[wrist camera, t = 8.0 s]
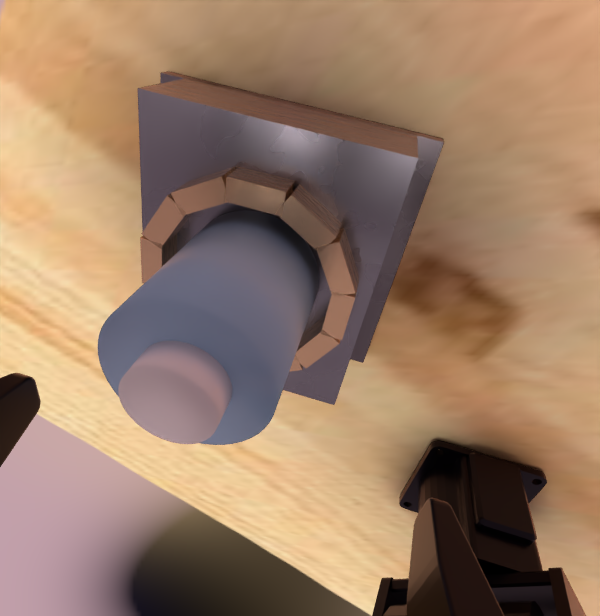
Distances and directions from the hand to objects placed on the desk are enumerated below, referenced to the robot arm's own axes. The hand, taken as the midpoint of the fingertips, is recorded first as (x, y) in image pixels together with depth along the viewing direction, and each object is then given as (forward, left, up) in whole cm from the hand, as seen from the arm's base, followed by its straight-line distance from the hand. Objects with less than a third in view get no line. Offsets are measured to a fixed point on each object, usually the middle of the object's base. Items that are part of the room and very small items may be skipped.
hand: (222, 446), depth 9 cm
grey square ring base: (0, +2, -12) cm, 12 cm away
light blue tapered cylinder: (0, +2, -8) cm, 8 cm away
